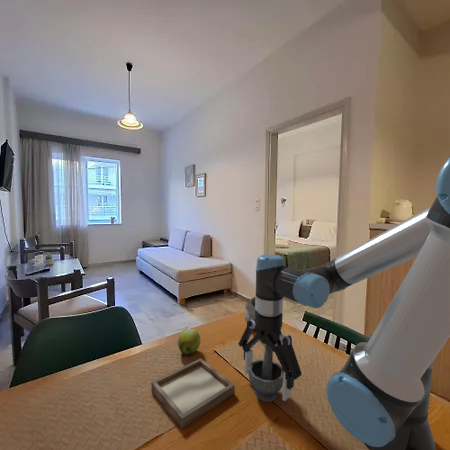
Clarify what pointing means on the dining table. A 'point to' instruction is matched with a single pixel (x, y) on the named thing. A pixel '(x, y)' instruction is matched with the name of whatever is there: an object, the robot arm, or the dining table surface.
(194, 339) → the apple
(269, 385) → the mortar and pestle
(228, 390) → the grey sand tray
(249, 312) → the figurine
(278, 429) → the dining table surface
